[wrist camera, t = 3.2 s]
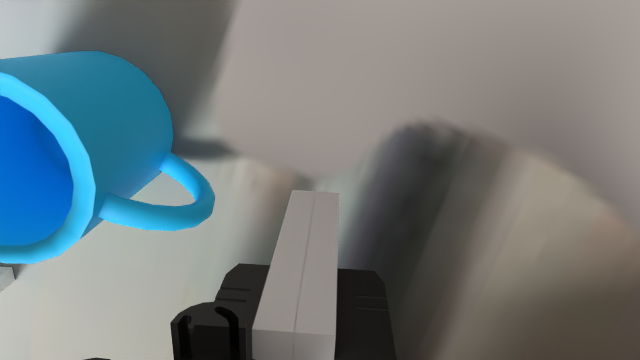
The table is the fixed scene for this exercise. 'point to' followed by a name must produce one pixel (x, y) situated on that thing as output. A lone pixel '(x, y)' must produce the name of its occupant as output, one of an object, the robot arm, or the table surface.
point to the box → (6, 277)
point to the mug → (84, 153)
